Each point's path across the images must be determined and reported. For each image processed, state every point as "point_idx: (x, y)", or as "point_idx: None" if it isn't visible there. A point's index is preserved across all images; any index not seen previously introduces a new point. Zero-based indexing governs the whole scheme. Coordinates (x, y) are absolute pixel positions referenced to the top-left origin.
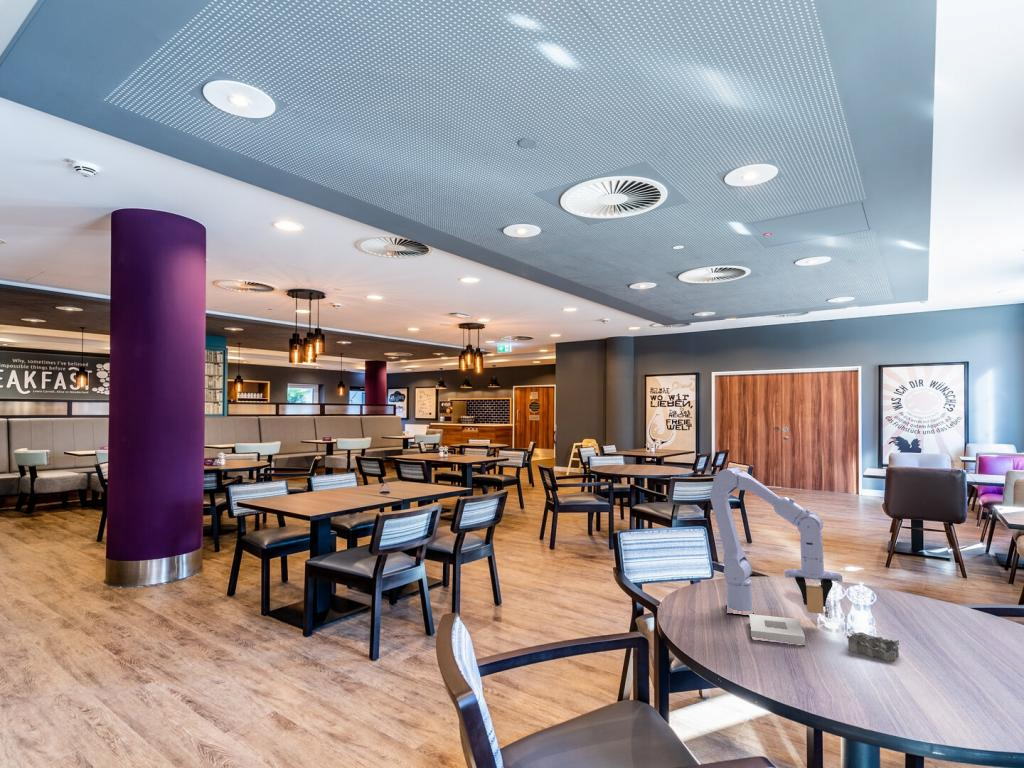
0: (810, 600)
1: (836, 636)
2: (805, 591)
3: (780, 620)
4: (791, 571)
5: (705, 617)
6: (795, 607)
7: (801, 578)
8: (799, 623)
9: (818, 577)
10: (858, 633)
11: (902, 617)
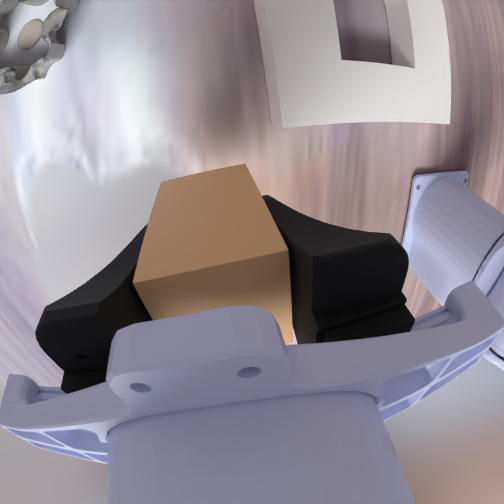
0: (236, 197)
1: (118, 103)
2: (286, 228)
3: (361, 78)
4: (475, 346)
5: (497, 130)
6: None
7: (358, 330)
8: (279, 64)
9: (110, 354)
10: (22, 83)
11: (47, 355)
